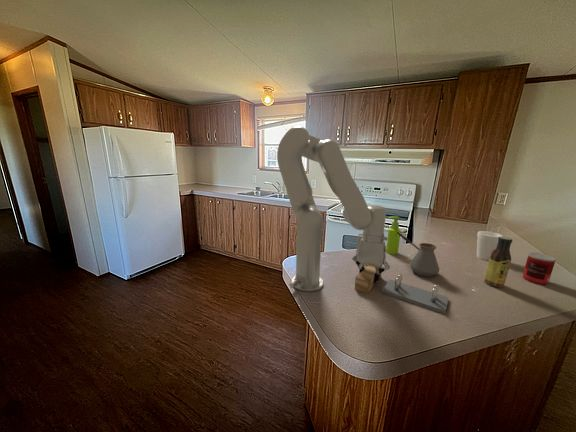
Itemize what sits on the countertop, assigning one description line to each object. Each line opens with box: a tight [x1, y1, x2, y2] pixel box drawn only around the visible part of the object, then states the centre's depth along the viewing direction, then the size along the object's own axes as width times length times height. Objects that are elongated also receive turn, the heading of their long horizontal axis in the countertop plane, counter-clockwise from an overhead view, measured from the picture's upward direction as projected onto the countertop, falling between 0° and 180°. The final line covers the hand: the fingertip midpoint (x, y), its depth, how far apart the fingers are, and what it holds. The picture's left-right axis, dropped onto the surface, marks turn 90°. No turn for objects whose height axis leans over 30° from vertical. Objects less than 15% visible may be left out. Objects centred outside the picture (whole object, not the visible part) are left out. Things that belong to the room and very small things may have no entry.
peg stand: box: [382, 273, 449, 315], centre depth 85 cm, size 10×20×6 cm, turn 52°
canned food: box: [522, 252, 556, 286], centre depth 97 cm, size 8×8×11 cm
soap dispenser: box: [386, 215, 402, 256], centre depth 123 cm, size 6×7×20 cm
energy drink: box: [355, 233, 363, 255], centre depth 117 cm, size 5×5×12 cm
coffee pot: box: [395, 232, 440, 278], centre depth 106 cm, size 21×12×15 cm, turn 31°
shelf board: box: [354, 265, 383, 294], centre depth 95 cm, size 16×5×5 cm, turn 141°
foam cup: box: [476, 230, 504, 261], centre depth 118 cm, size 10×9×13 cm
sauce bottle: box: [483, 236, 513, 288], centre depth 93 cm, size 6×6×20 cm
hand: (368, 279), depth 95 cm, fingers closed on shelf board, 5 cm apart
